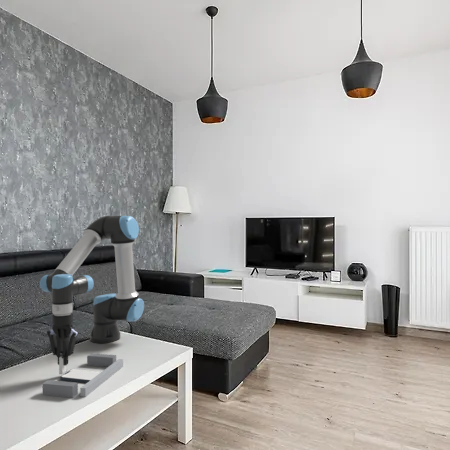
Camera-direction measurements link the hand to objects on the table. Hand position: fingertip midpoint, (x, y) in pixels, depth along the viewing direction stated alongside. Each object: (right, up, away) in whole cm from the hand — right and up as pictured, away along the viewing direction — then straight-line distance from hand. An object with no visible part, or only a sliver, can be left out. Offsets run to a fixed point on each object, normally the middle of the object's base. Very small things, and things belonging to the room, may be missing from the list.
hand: (63, 372), depth 148 cm
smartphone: (+9, -2, -1) cm, 9 cm away
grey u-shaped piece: (+11, -1, -2) cm, 11 cm away
